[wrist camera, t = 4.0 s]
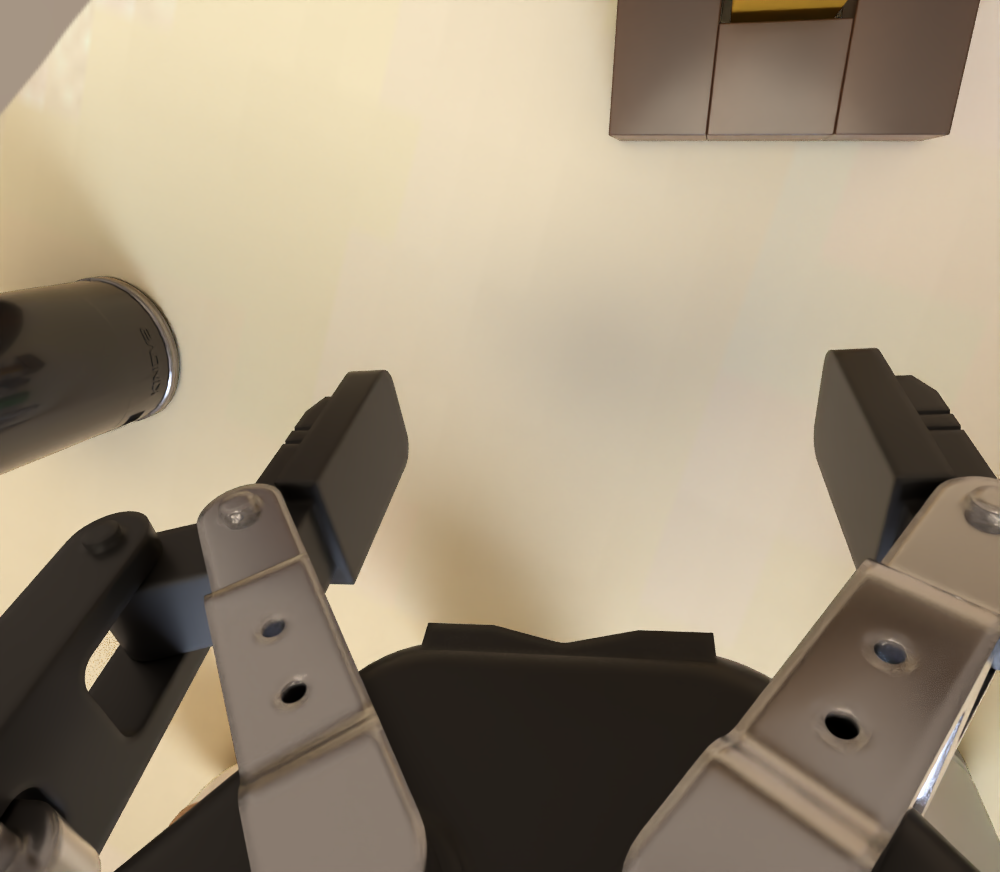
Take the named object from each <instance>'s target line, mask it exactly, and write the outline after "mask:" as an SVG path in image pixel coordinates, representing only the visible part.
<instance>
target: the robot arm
mask: <svg viewBox="0 0 1000 872" xmlns="http://www.w3.org/2000/svg"><path fill="white" fill-rule="evenodd" d="M178 378H179V358H178V352H177V347H176V344H175V341H174V338H173V335H172V333H171V330H170V328H169V326H168V324H167V322H166V321H165V319H164V317H163V316H162V314H161V313H160V311H159V310H158V309H157V307H156V306H155V305H154V304H153V303H152V302H151V301H150V300H149V299H148V298H147V297H146V296H145V295H144V294H143V293H142V292H140V291H139V290H138V289H136V288H135V287H133V286H131V285H130V284H128V283H126V282H124V281H121V280H118V279H115V278H111V277H93V278H86V279H81V280H78V281H75V282H71V283H64V284H57V285H51V286H42V287H35V288H29V289H22V290H15V291H8V292H1V293H0V475H2V474H4V473H7V472H9V471H12V470H14V469H17V468H19V467H22V466H24V465H26V464H29V463H31V462H34V461H36V460H39V459H41V458H44V457H46V456H49V455H51V454H54V453H56V452H59V451H61V450H64V449H66V448H69V447H71V446H73V445H76V444H78V443H81V442H83V441H86V440H88V439H91V438H93V437H96V436H98V435H101V434H103V433H106V432H109V431H111V430H113V429H116V428H118V427H121V426H123V425H126V424H128V423H130V422H133V421H136V422H137V421H139V420H142V419H145V418H147V417H150V416H152V415H154V414H157V413H158V412H160V411H161V410H162V409H164V408H165V407H166V406H167V404H168V403H169V402H170V400H171V399H172V397H173V395H174V393H175V390H176V388H177V384H178ZM124 427H125V426H124ZM119 429H120V428H119ZM114 431H115V430H114ZM285 442H286V444H283V445H282V446H281V448H280V449H279V451H278V452H277V453H276V455H275V456H274V458H273V459H272V460H271V462H270V463H269V465H268V466H267V468H266V469H265V470H264V472H263V473H262V475H261V476H260V478H259V479H258V480H257V482H256V483H255V484H249V485H244V486H240V487H237V488H234V489H232V490H230V491H227V492H225V493H223V494H222V495H220V496H218V497H217V498H215V499H214V500H213V501H211V502H210V503H209V504H208V505H207V506H206V507H205V508H204V509H203V511H202V512H201V514H200V515H199V518H198V521H197V523H196V524H192V525H188V526H183V527H179V528H175V529H170V530H166V531H162V532H157V533H156V532H155V530H154V528H153V527H152V525H151V523H150V522H149V520H148V518H147V517H146V516H145V515H144V514H142V513H139V512H134V511H127V512H119V513H115V514H111V515H108V516H105V517H103V518H100V519H98V520H96V521H94V522H92V523H90V524H88V525H87V526H85V527H83V528H82V529H80V530H79V531H78V532H76V533H75V534H74V535H73V536H72V537H71V538H70V539H69V540H68V541H67V542H66V543H65V544H64V545H63V546H62V548H61V549H60V550H59V551H58V552H57V553H56V554H55V556H54V557H53V558H52V559H51V560H50V561H49V562H48V564H47V565H46V566H45V567H44V568H43V569H42V570H41V571H40V573H39V574H38V575H37V576H36V577H35V578H34V579H33V581H32V582H31V583H30V584H29V585H28V586H27V587H26V589H25V590H24V591H23V592H22V593H21V594H20V595H19V597H18V598H17V599H16V600H15V601H14V602H13V603H12V605H11V606H10V607H9V608H8V609H7V610H6V611H5V613H4V614H3V615H2V616H1V617H0V872H101V862H100V858H99V855H100V853H101V851H102V849H103V847H104V845H105V843H106V841H107V840H108V838H109V836H110V834H111V832H112V830H113V828H114V826H115V825H116V823H117V821H118V819H119V817H120V815H121V813H122V811H123V810H124V808H125V806H126V804H127V802H128V800H129V798H130V797H131V795H132V793H133V791H134V789H135V787H136V785H137V783H138V782H139V780H140V778H141V776H142V774H143V772H144V770H145V768H146V767H147V765H148V763H149V761H150V759H151V757H152V755H153V754H154V752H155V750H156V748H157V746H158V744H159V742H160V740H161V739H162V737H163V735H164V733H165V731H166V729H167V727H168V725H169V724H170V722H171V720H172V718H173V716H174V714H175V712H176V711H177V709H178V707H179V705H180V703H181V701H182V699H183V697H184V696H185V694H186V692H187V690H188V688H189V686H190V684H191V682H192V681H193V679H194V677H195V675H196V673H197V671H198V669H199V667H200V666H201V664H202V662H203V660H204V658H205V656H206V654H207V653H208V651H209V649H210V647H211V646H213V649H214V654H215V658H216V663H217V668H218V673H219V678H220V682H221V687H222V692H223V697H224V702H225V706H226V711H227V716H228V721H229V726H230V730H231V735H232V740H233V745H234V749H235V754H236V759H237V764H238V770H237V771H236V772H235V773H233V774H232V775H231V776H230V777H228V778H227V779H226V780H225V781H224V782H222V783H221V784H220V785H219V786H218V787H216V788H215V789H214V790H213V791H211V792H210V793H209V794H208V795H207V796H205V797H204V798H203V799H202V800H200V801H199V802H198V803H197V804H196V805H194V806H193V807H192V808H191V809H190V810H188V811H187V812H186V813H185V814H183V815H182V816H181V817H180V818H179V819H177V820H176V821H175V822H174V823H172V824H171V825H170V826H169V827H168V828H166V829H165V830H164V831H163V832H162V833H160V834H159V835H158V836H157V837H155V838H154V839H153V840H152V841H151V842H149V843H148V844H147V845H146V846H144V847H143V848H142V849H141V850H140V851H138V852H137V853H136V854H135V855H133V856H132V857H131V858H130V859H129V860H127V861H126V862H125V863H124V864H123V865H121V866H120V867H119V868H118V869H116V870H115V871H114V872H981V871H979V870H978V869H977V868H976V867H975V866H974V865H973V864H972V863H971V862H970V861H969V860H968V859H967V858H966V857H965V856H964V855H963V854H962V853H961V852H960V851H959V850H957V849H956V848H955V847H954V846H953V845H952V844H951V843H950V842H949V841H948V840H947V839H946V838H945V837H944V836H943V835H942V834H941V833H940V832H939V831H938V830H937V829H936V828H934V827H933V826H932V825H931V824H930V823H929V822H928V821H927V820H926V819H925V818H924V815H925V813H926V811H927V809H928V806H929V804H930V802H931V800H932V798H933V796H934V794H935V792H936V790H937V788H938V786H939V784H940V781H941V779H942V777H943V775H944V773H945V771H946V769H947V767H948V765H949V763H950V761H951V759H952V757H953V755H954V753H955V751H956V749H957V747H958V745H959V744H960V742H961V740H962V738H963V736H964V734H965V732H966V730H967V728H968V726H969V724H970V722H971V720H972V718H973V717H974V715H975V713H976V711H977V709H978V707H979V705H980V703H981V701H982V699H983V697H984V695H985V693H986V691H987V690H988V688H989V686H990V684H991V682H992V680H993V678H994V676H995V674H996V672H997V670H1000V479H997V478H996V476H995V475H994V473H993V472H992V470H991V469H990V468H989V466H988V465H987V463H986V462H985V460H984V459H983V457H982V456H981V454H980V453H979V452H978V450H977V449H976V447H975V446H974V444H973V443H972V441H971V440H970V438H969V437H968V436H967V434H966V433H965V431H964V430H961V425H960V424H959V422H958V421H957V420H956V418H955V417H954V415H953V414H950V409H949V408H948V406H947V405H946V404H945V402H944V401H943V399H942V398H941V396H940V395H939V393H938V392H937V391H936V390H934V389H933V388H931V387H930V386H928V385H926V384H925V383H923V382H922V381H920V380H919V379H917V378H915V377H914V376H912V375H906V376H895V375H894V373H893V372H892V370H891V368H890V367H889V365H888V363H887V362H886V360H885V359H884V357H883V355H882V354H881V352H880V351H879V349H877V348H866V349H845V350H829V351H828V352H827V354H826V356H825V360H824V365H823V371H822V378H821V385H820V391H819V398H818V405H817V412H816V418H815V425H814V447H815V454H816V459H817V462H818V465H819V467H820V470H821V473H822V476H823V478H824V481H825V484H826V487H827V489H828V492H829V495H830V498H831V501H832V503H833V506H834V509H835V512H836V514H837V517H838V520H839V523H840V525H841V528H842V531H843V534H844V537H845V539H846V542H847V545H848V548H849V550H850V553H851V556H852V559H853V561H854V564H855V567H856V571H855V573H854V574H853V575H852V576H851V578H850V579H849V580H848V582H847V583H846V584H845V585H844V587H843V588H842V589H841V591H840V592H839V593H838V595H837V596H836V597H835V598H834V600H833V601H832V602H831V604H830V605H829V606H828V607H827V609H826V610H825V611H824V613H823V614H822V615H821V617H820V618H819V619H818V620H817V622H816V623H815V624H814V626H813V627H812V628H811V630H810V631H809V632H808V633H807V635H806V636H805V637H804V639H803V640H802V641H801V642H800V644H799V645H798V646H797V648H796V649H795V650H794V652H793V653H792V654H791V655H790V657H789V658H788V659H787V661H786V662H785V663H784V664H783V666H782V667H781V668H780V670H779V671H778V672H777V674H776V675H775V676H774V677H773V679H771V678H769V677H767V676H766V675H764V674H762V673H760V672H758V671H756V670H754V669H752V668H750V667H748V666H745V665H742V664H740V663H737V662H734V661H732V660H729V659H725V658H721V657H718V656H716V653H715V644H714V636H713V633H700V632H672V631H644V630H637V631H632V632H626V633H620V634H615V635H609V636H604V637H598V638H592V639H587V640H581V641H575V642H569V643H560V642H555V641H551V640H547V639H543V638H540V637H536V636H532V635H529V634H525V633H521V632H517V631H514V630H510V629H506V628H502V627H499V626H495V625H475V624H446V623H428V626H427V629H426V632H425V636H424V639H423V642H422V645H418V646H413V647H410V648H406V649H403V650H400V651H397V652H395V653H392V654H390V655H387V656H385V657H383V658H381V659H379V660H377V661H375V662H373V663H371V664H369V665H368V666H366V667H365V668H363V669H362V670H360V671H359V672H358V670H357V667H356V665H355V663H354V660H353V658H352V656H351V653H350V651H349V649H348V646H347V644H346V642H345V639H344V637H343V635H342V633H341V630H340V628H339V626H338V623H337V621H336V619H335V616H334V614H333V612H332V609H331V607H330V605H329V602H328V600H327V598H326V595H325V593H326V591H327V588H328V586H329V584H354V583H355V581H356V579H357V577H358V574H359V572H360V570H361V567H362V565H363V563H364V560H365V558H366V556H367V554H368V551H369V549H370V547H371V544H372V542H373V540H374V537H375V535H376V533H377V531H378V528H379V526H380V524H381V521H382V519H383V517H384V515H385V512H386V510H387V508H388V505H389V503H390V501H391V498H392V496H393V494H394V492H395V489H396V487H397V485H398V482H399V480H400V478H401V475H402V473H403V471H404V469H405V466H406V463H407V459H408V437H407V432H406V428H405V425H404V421H403V417H402V413H401V410H400V406H399V402H398V398H397V395H396V391H395V387H394V383H393V380H392V377H391V375H390V374H389V372H388V371H386V370H374V371H352V372H348V373H347V374H346V376H345V377H344V379H343V380H342V382H341V383H340V385H339V386H338V388H337V389H336V391H335V392H334V394H333V395H332V397H325V398H323V399H322V400H321V401H319V402H318V403H317V404H315V405H314V406H313V407H311V408H310V409H309V410H307V411H306V412H305V413H304V415H303V416H302V418H301V419H300V421H299V422H298V423H297V425H296V426H295V431H292V432H291V433H290V435H289V436H288V438H287V439H286V441H285ZM109 630H110V631H111V632H112V634H113V635H114V636H115V638H116V639H117V641H118V642H119V644H120V645H119V647H118V648H117V650H116V651H115V653H114V654H113V656H112V657H111V659H110V660H109V662H108V663H107V665H106V666H105V668H104V669H103V671H102V672H101V674H100V675H99V677H98V678H97V680H96V681H95V683H94V684H93V686H92V687H91V689H90V690H89V692H88V691H87V688H86V685H85V670H86V666H87V663H88V661H89V659H90V657H91V656H92V654H93V653H94V651H95V650H96V648H97V647H98V646H99V644H100V643H101V641H102V640H103V638H104V637H105V636H106V634H107V633H108V631H109Z"/></svg>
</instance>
